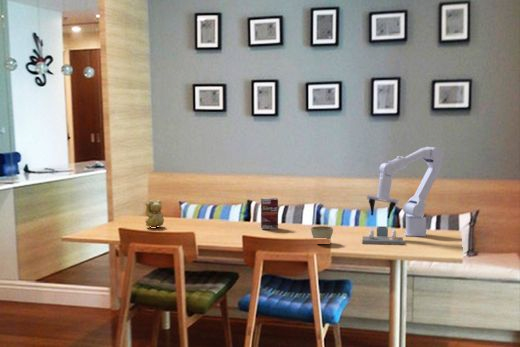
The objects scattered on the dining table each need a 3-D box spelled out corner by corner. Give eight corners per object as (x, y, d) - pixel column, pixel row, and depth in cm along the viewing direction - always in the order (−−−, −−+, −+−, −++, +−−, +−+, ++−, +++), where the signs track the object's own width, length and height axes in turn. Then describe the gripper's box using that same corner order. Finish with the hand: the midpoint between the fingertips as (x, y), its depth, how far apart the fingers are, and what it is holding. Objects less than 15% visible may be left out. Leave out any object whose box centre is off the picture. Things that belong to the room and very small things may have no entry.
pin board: (402, 240, 258) (402, 228, 257) (403, 244, 249) (403, 232, 248) (362, 239, 261) (362, 227, 261) (362, 243, 252) (362, 231, 252)
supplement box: (262, 230, 288) (261, 199, 286) (260, 228, 292) (260, 198, 291) (278, 229, 289) (278, 199, 287) (277, 227, 293) (276, 197, 292)
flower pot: (309, 241, 258) (309, 226, 257) (330, 241, 259) (330, 225, 258) (313, 246, 248) (313, 230, 247) (335, 245, 249) (335, 229, 248)
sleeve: (387, 236, 267) (387, 226, 266) (387, 238, 262) (387, 228, 261) (376, 236, 268) (376, 226, 267) (376, 238, 263) (376, 228, 262)
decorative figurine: (161, 225, 303) (160, 198, 302) (166, 228, 296) (166, 200, 295) (144, 227, 299) (143, 199, 297) (149, 229, 292) (148, 201, 290)
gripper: (367, 186, 262) (363, 214, 263) (399, 190, 258) (394, 219, 258) (369, 185, 269) (365, 213, 270) (400, 190, 264) (396, 218, 265)
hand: (380, 216), depth 264 cm, fingers open, 7 cm apart
